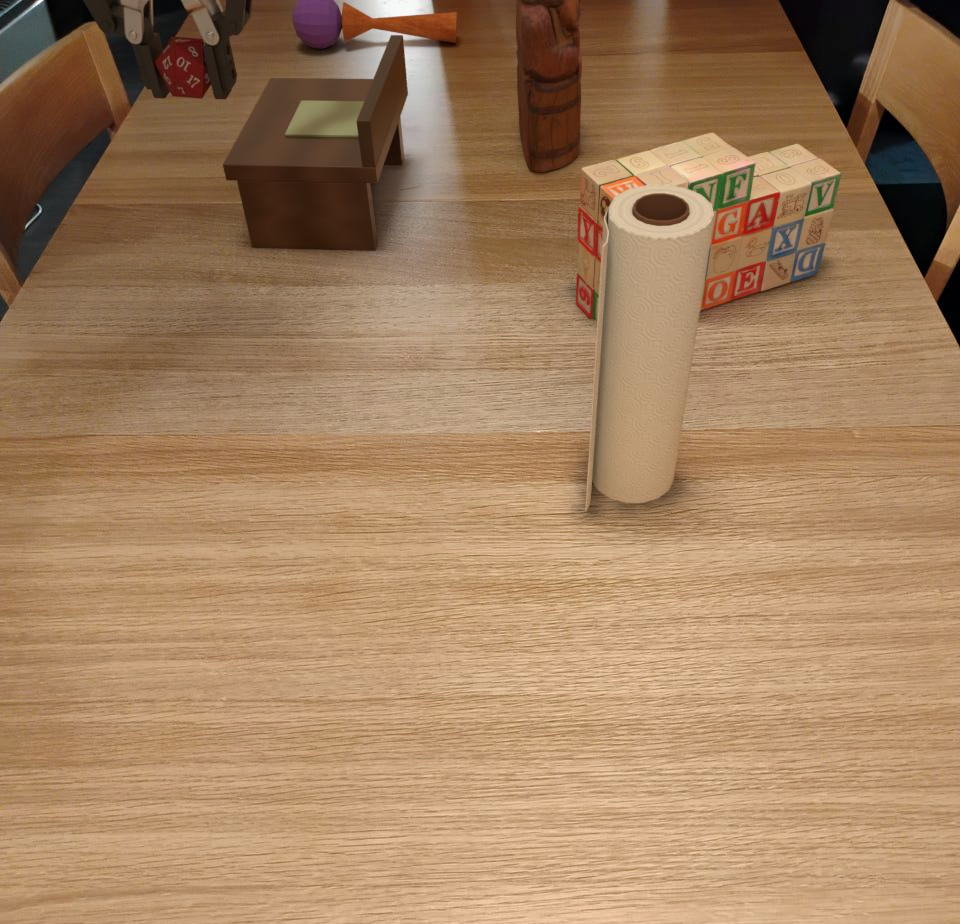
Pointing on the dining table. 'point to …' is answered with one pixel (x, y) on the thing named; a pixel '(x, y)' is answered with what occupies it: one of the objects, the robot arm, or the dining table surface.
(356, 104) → the miniature wooden chair
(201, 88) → the dice
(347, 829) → the dining table surface
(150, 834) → the dining table surface
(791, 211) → the stack of blocks
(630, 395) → the paper towel roll
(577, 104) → the wooden figurine
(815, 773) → the dining table surface
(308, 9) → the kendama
